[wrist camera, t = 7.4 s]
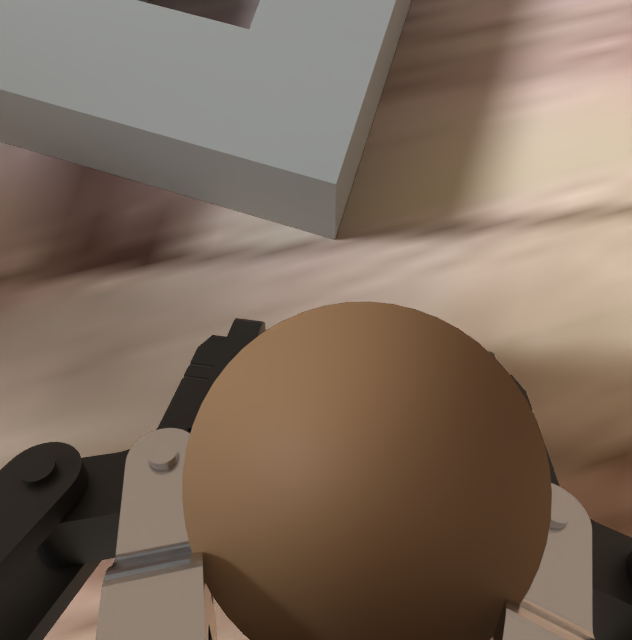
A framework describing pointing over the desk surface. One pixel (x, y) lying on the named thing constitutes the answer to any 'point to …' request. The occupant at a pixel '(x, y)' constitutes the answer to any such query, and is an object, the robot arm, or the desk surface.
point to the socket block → (204, 97)
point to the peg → (366, 481)
